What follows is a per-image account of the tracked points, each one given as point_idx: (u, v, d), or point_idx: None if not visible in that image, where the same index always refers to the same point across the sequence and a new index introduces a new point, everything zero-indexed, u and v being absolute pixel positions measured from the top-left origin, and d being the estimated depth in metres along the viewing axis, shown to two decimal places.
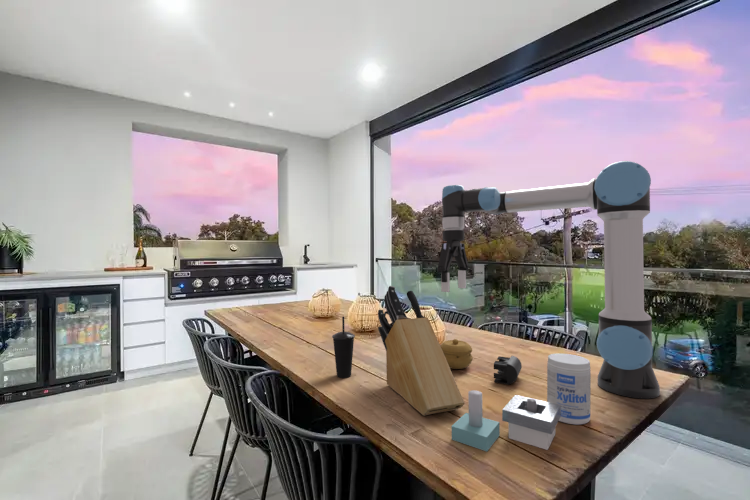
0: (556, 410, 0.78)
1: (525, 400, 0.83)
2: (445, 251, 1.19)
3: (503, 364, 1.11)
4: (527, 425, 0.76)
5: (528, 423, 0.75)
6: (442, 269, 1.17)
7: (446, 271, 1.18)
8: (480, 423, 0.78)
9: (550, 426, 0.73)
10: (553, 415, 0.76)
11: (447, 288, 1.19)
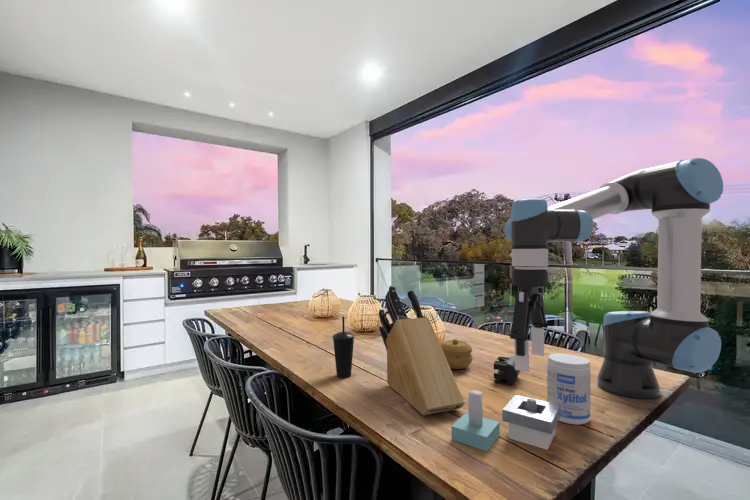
0: (556, 410, 0.78)
1: (525, 400, 0.83)
2: (522, 305, 0.74)
3: (503, 364, 1.11)
4: (527, 425, 0.76)
5: (528, 423, 0.75)
6: (520, 337, 0.72)
7: (525, 339, 0.73)
8: (480, 423, 0.78)
9: (550, 426, 0.73)
10: (553, 415, 0.76)
11: (526, 365, 0.74)
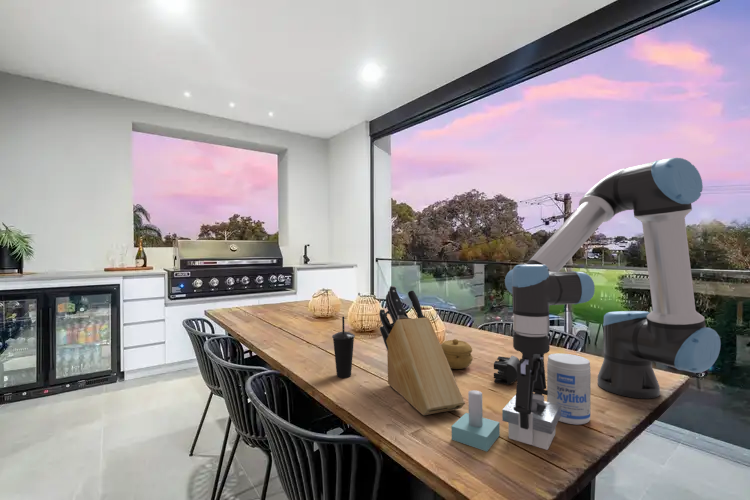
0: (556, 410, 0.78)
1: None
2: (525, 379, 0.74)
3: (503, 364, 1.11)
4: None
5: None
6: (524, 412, 0.73)
7: (529, 413, 0.74)
8: (480, 423, 0.78)
9: (550, 426, 0.73)
10: (553, 415, 0.76)
11: (529, 438, 0.75)
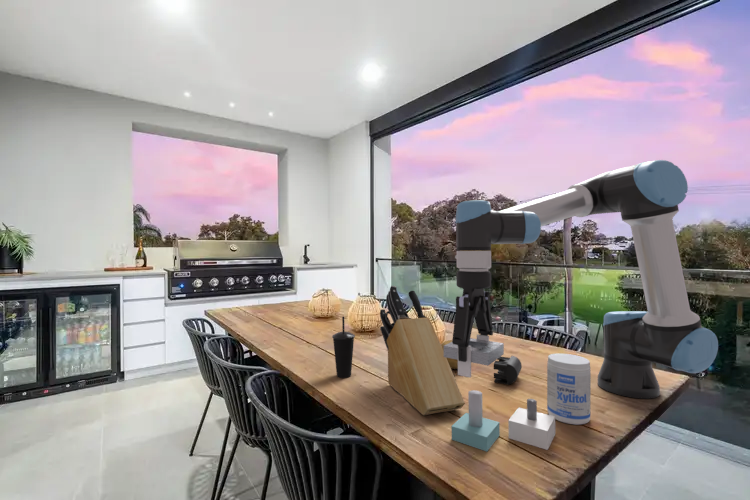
0: (497, 346, 0.78)
1: (470, 340, 0.83)
2: (462, 311, 0.74)
3: (503, 364, 1.11)
4: None
5: None
6: (460, 343, 0.72)
7: (466, 345, 0.73)
8: (480, 423, 0.78)
9: (487, 357, 0.73)
10: (492, 349, 0.75)
11: (467, 371, 0.74)
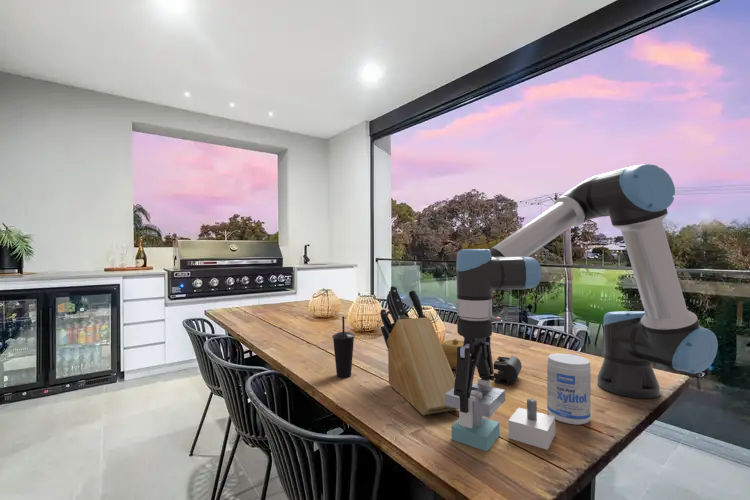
0: (498, 394, 0.78)
1: None
2: (464, 362, 0.74)
3: (503, 364, 1.11)
4: None
5: None
6: (462, 395, 0.72)
7: (468, 397, 0.73)
8: (480, 423, 0.78)
9: (488, 409, 0.73)
10: (493, 399, 0.75)
11: (469, 422, 0.74)
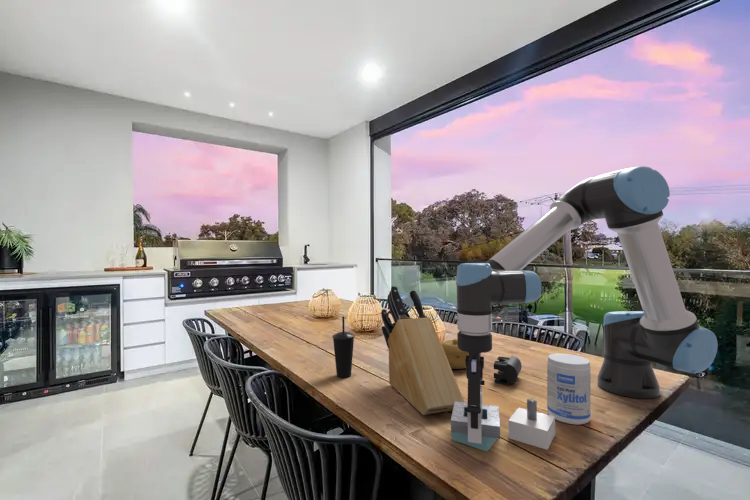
0: (497, 412, 0.79)
1: (466, 406, 0.83)
2: (475, 376, 0.72)
3: (503, 364, 1.11)
4: None
5: None
6: (476, 411, 0.70)
7: None
8: None
9: (499, 430, 0.73)
10: (498, 418, 0.77)
11: (479, 437, 0.72)
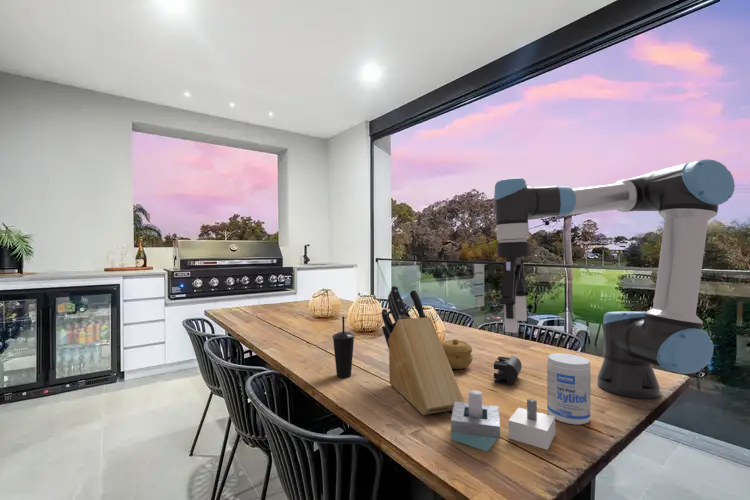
0: (497, 412, 0.79)
1: (466, 406, 0.83)
2: (510, 273, 0.82)
3: (503, 364, 1.11)
4: (476, 433, 0.75)
5: (477, 431, 0.75)
6: (509, 301, 0.80)
7: (514, 303, 0.81)
8: None
9: (499, 430, 0.73)
10: (498, 418, 0.77)
11: (515, 327, 0.82)
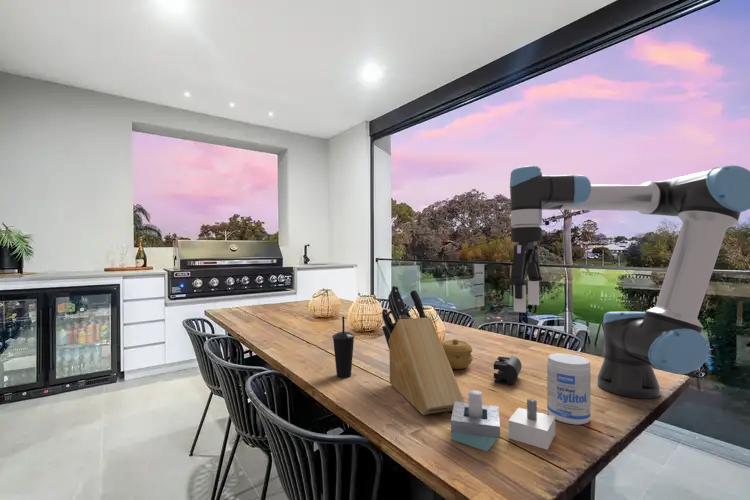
0: (497, 412, 0.79)
1: (466, 406, 0.83)
2: (520, 256, 0.86)
3: (503, 364, 1.11)
4: (476, 433, 0.75)
5: (477, 431, 0.75)
6: (518, 281, 0.84)
7: (522, 284, 0.85)
8: None
9: (499, 430, 0.73)
10: (498, 418, 0.77)
11: (523, 307, 0.86)
